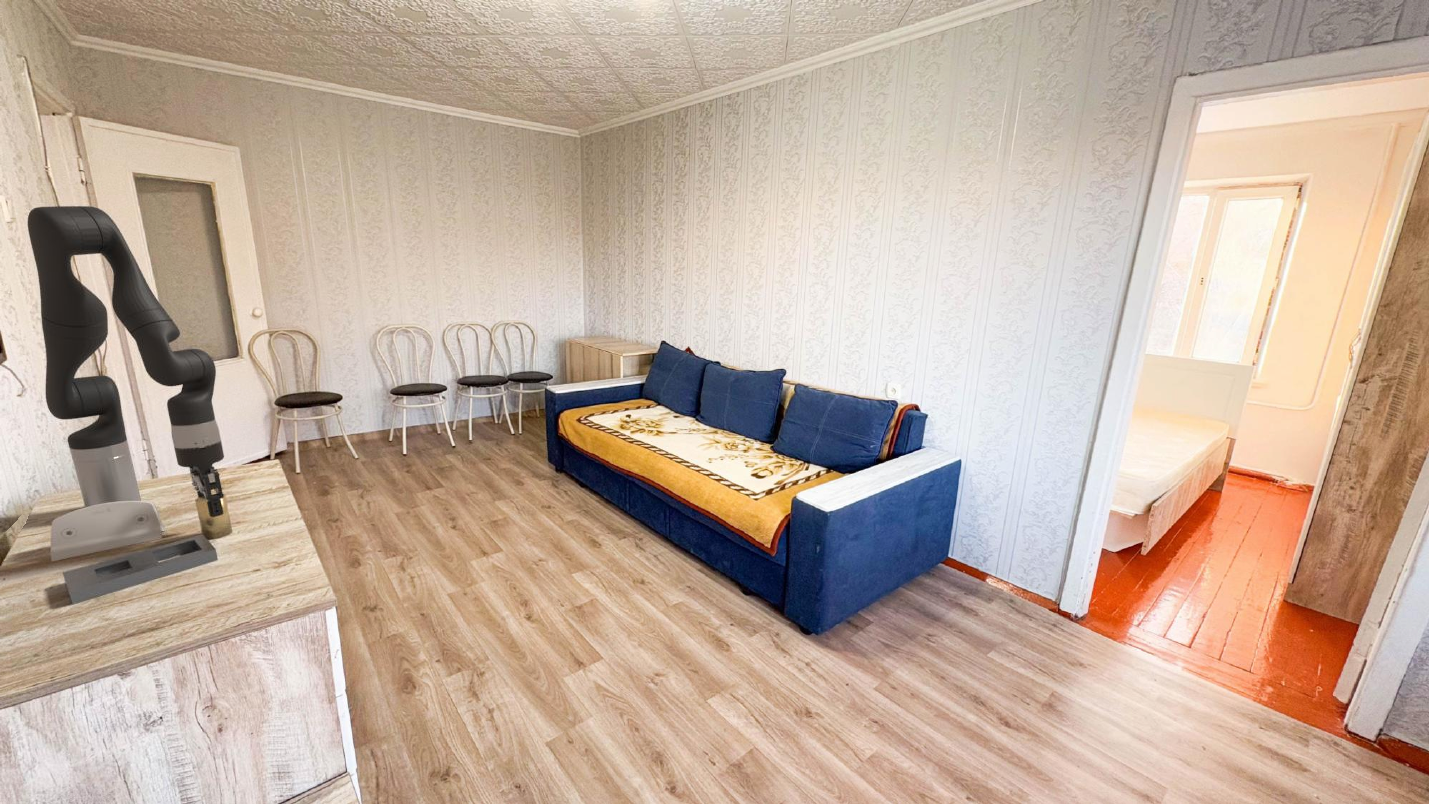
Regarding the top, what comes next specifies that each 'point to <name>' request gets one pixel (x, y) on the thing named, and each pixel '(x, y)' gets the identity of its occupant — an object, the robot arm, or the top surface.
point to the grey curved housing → (104, 528)
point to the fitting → (213, 520)
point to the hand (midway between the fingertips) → (211, 510)
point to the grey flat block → (137, 568)
